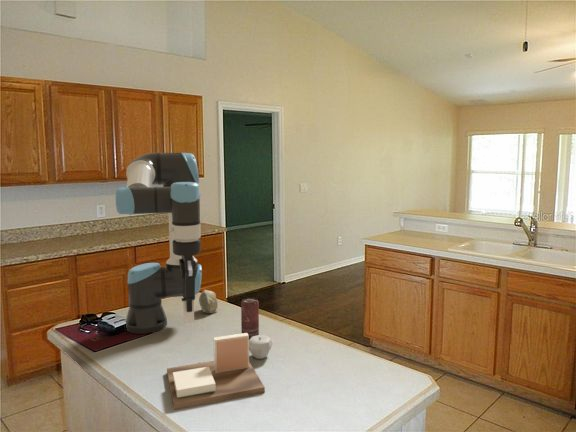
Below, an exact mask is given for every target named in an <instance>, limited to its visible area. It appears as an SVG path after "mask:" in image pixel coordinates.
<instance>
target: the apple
mask: <svg viewBox="0 0 576 432" xmlns="http://www.w3.org/2000/svg"><path fill="white" fill-rule="evenodd" d="M272 345H273V341H272V339H271V338H270V337H269V336H268V335H264V334H259V335H257V336H252V337H251V339H250V340H249V353H250V355H252V357H254V358H255V359H256V360H257V359H258V360H262V359H265V358H266V357H268V354H269V353H270V351H271V349H272Z"/></svg>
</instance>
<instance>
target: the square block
mask: <svg viewBox="0 0 576 432" xmlns="http://www.w3.org/2000/svg"><path fill="white" fill-rule="evenodd" d="M173 381H174V386H175V390H176V395H177V398H178V397H179V398H182V397H187V396H193V395H198V394H204V393H209V392H213V391H216V383H215V381H214V378H213V376H212V373H211V371H210V368H209V367H203V368H197V369H191V370H185V371H179V372H173Z"/></svg>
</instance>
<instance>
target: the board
mask: <svg viewBox="0 0 576 432" xmlns="http://www.w3.org/2000/svg"><path fill="white" fill-rule="evenodd" d="M203 367H209V368H210V371H211V373H212V376H213V378H214V381H215V383H216V391H213V392H209V393H204V394H198V395H193V396H187V397H182V398H179V397H178V398H177V395H176V390H175V386H174V381H173V372H179V371H185V370H191V369H197V368H203ZM166 374H167V379H168V380H167V381H168V385H169V390H170V394H171V400H172V405H173V410H180V409H185V408H189V407H195V406H200V405H201V406H202V405H205V404H206V405H207V404H210V403H214V402H215V403H216V402H221V401H226V400H231V399H236V398H241V397H246V396H252V395H257V394H262V393H265V391H266V390H265V388H266V386H265V385H264V384H263V382H262V380H261V378H260V377H259V375H258V374H257V372H256V370H255V369H254V367H253V366H252V363H251V362H250V361H249V368H243V369H237V370H231V371H225V372H219V373H215V370H214V360H211V361H206V362H205V361H204V362H198V363H192V364H184V365H179V366H173V367H167V368H166Z"/></svg>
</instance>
